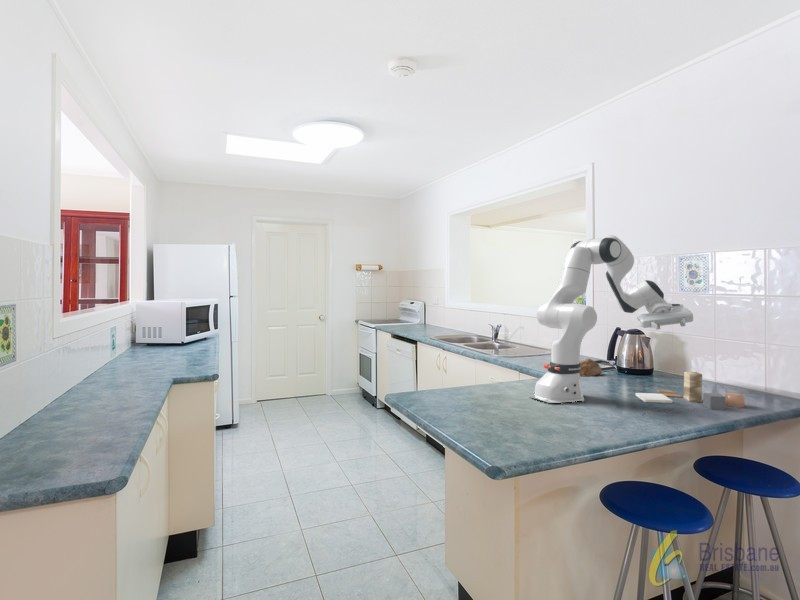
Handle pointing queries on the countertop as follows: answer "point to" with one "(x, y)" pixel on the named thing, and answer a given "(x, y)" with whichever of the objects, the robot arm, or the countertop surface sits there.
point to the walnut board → (669, 393)
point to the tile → (654, 397)
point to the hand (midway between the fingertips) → (670, 326)
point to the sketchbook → (605, 365)
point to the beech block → (693, 386)
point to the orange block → (734, 399)
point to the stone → (589, 368)
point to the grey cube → (714, 401)
